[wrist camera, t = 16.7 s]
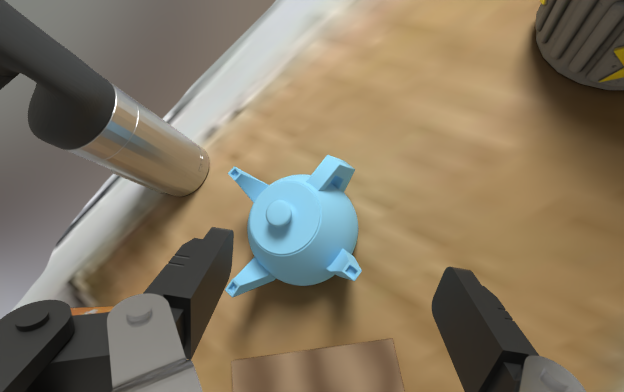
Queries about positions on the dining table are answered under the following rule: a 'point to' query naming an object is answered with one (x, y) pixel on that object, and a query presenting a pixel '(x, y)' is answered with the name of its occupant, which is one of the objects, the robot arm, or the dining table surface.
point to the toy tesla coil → (584, 40)
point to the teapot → (299, 228)
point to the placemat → (322, 370)
